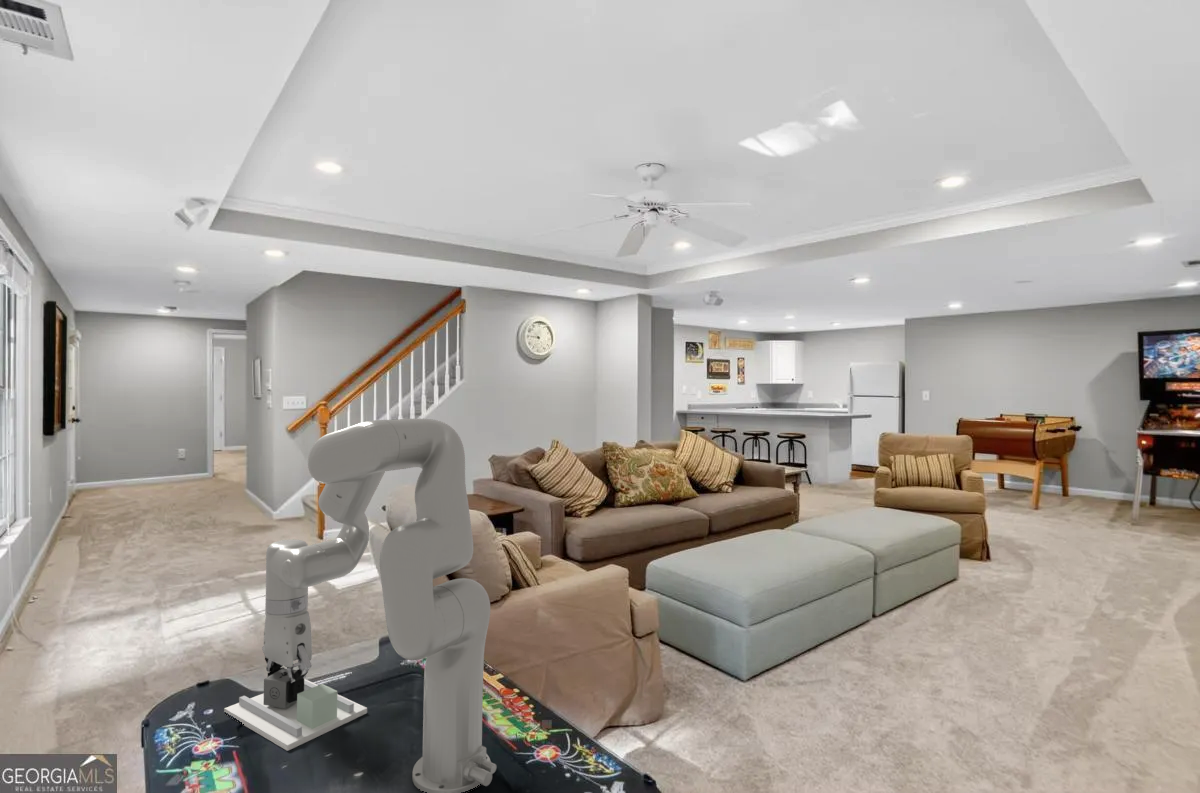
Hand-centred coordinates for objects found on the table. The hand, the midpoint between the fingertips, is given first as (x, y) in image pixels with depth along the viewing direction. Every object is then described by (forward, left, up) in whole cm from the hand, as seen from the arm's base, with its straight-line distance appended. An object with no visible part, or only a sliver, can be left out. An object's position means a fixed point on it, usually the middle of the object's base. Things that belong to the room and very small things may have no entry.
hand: (285, 694), depth 123 cm
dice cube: (0, 0, -1) cm, 1 cm away
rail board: (-4, 0, -3) cm, 5 cm away
